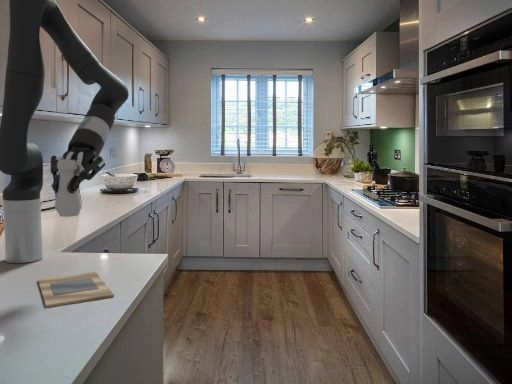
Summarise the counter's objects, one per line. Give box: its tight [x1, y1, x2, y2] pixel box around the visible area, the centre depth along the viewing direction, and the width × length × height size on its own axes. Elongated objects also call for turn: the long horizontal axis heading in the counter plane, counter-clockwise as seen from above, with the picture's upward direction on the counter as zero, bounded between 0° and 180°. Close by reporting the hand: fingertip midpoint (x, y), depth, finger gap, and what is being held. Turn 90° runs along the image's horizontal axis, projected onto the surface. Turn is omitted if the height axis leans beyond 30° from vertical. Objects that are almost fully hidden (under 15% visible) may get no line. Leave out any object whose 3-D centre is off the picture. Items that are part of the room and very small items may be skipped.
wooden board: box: [37, 271, 115, 308], centre depth 98 cm, size 20×13×1 cm, turn 31°
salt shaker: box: [54, 160, 83, 218], centre depth 101 cm, size 6×6×13 cm
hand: (62, 190), depth 99 cm, fingers closed on salt shaker, 3 cm apart
